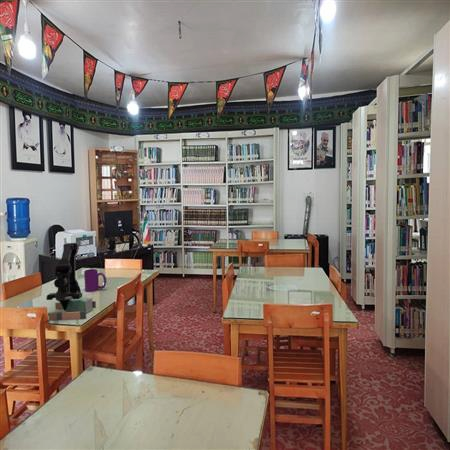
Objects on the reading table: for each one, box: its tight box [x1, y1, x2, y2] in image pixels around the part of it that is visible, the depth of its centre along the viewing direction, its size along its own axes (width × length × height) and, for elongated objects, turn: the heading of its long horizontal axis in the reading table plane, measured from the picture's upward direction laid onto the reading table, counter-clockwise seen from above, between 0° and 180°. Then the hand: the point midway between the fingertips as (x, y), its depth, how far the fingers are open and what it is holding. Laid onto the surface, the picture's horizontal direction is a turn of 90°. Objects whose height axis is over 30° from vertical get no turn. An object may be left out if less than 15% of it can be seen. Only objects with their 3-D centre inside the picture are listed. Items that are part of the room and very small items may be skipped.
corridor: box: [47, 300, 97, 321], centre depth 210 cm, size 20×24×4 cm
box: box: [65, 297, 94, 314], centre depth 214 cm, size 7×14×8 cm, turn 79°
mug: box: [83, 268, 107, 293], centre depth 259 cm, size 9×16×15 cm, turn 90°
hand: (65, 310), depth 208 cm, fingers closed
